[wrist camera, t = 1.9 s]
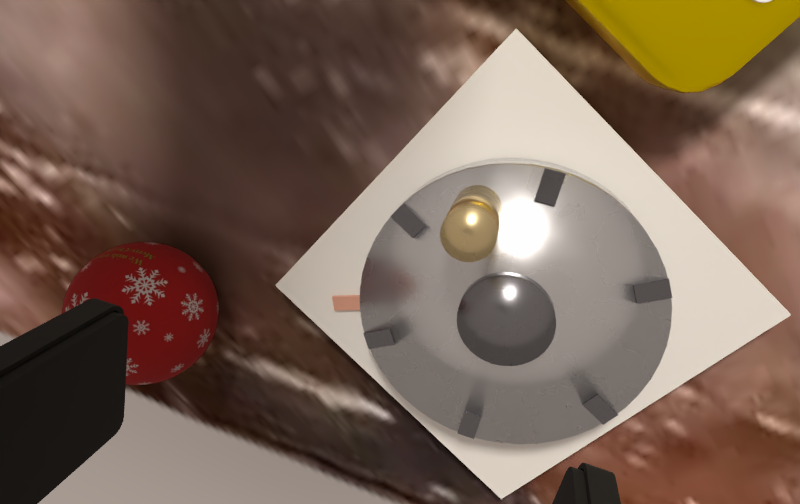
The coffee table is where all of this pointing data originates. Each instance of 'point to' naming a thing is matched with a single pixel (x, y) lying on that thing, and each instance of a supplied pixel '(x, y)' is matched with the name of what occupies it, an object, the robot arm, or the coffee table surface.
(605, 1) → the element tile
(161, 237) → the coffee table surface
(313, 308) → the base plate
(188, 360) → the christmas ornament
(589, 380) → the rotary dial
